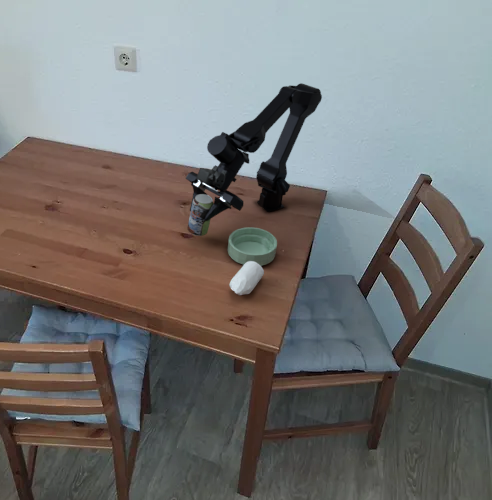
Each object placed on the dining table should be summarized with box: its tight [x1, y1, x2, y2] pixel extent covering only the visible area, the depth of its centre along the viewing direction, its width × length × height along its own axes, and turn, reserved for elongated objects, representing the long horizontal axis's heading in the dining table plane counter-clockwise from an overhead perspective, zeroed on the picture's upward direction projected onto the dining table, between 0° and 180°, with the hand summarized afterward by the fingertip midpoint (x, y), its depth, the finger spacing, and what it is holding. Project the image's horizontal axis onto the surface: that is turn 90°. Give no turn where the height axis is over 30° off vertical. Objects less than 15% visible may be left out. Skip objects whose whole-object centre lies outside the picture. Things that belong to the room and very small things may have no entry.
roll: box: [228, 261, 265, 296], centre depth 141 cm, size 6×12×6 cm, turn 147°
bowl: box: [227, 226, 278, 267], centre depth 154 cm, size 13×13×4 cm
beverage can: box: [187, 194, 214, 237], centre depth 155 cm, size 6×7×12 cm
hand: (197, 216), depth 154 cm, fingers closed on beverage can, 6 cm apart
